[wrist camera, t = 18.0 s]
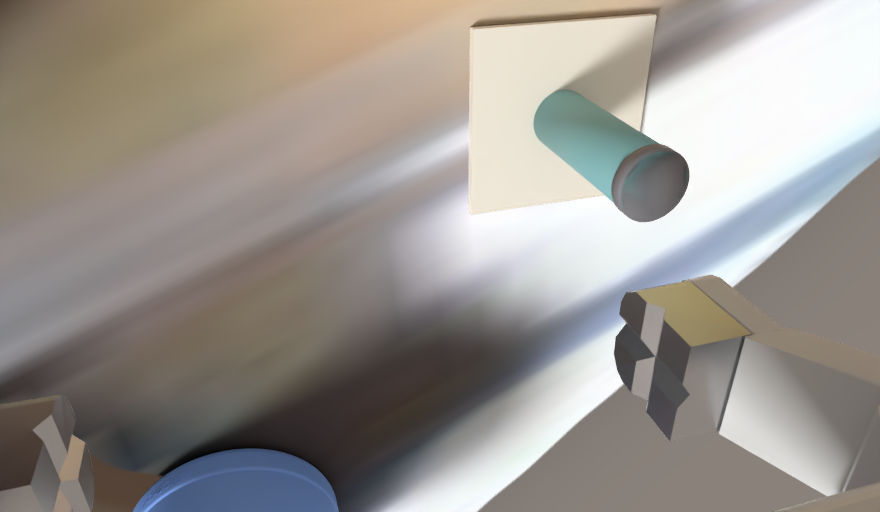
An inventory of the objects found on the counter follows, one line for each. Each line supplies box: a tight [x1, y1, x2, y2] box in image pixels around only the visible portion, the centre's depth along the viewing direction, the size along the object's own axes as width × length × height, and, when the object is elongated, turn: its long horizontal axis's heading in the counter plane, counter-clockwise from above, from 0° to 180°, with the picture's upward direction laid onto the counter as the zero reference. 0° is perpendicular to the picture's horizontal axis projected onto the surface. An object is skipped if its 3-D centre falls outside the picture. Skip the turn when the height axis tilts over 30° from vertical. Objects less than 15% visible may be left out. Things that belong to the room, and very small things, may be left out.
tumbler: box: [534, 90, 689, 222], centre depth 39 cm, size 4×4×11 cm
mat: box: [468, 13, 657, 215], centre depth 44 cm, size 12×12×1 cm
